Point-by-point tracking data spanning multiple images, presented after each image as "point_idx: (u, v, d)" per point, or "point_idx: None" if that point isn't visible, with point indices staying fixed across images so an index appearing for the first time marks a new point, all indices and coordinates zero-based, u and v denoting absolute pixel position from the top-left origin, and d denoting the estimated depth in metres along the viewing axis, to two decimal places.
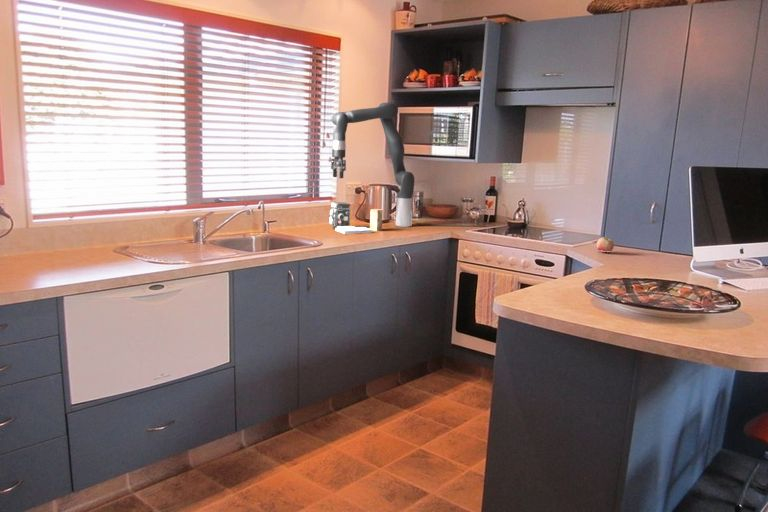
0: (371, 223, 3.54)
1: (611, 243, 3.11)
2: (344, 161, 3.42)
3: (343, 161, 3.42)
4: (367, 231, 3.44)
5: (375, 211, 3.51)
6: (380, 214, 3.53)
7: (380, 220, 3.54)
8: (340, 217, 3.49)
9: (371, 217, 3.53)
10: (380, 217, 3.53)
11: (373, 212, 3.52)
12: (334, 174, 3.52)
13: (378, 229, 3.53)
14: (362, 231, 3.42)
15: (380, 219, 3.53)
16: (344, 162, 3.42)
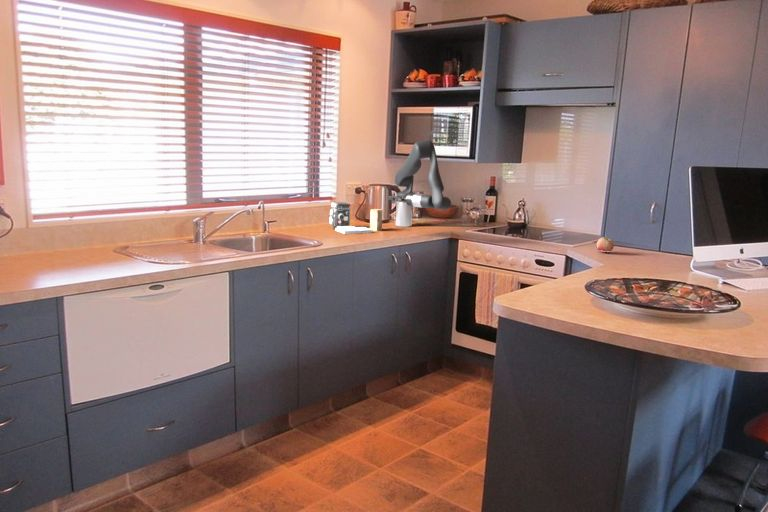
0: (371, 223, 3.54)
1: (611, 243, 3.11)
2: None
3: None
4: (367, 231, 3.44)
5: (375, 211, 3.51)
6: (380, 214, 3.53)
7: (380, 220, 3.54)
8: (340, 217, 3.49)
9: (371, 217, 3.53)
10: (380, 217, 3.53)
11: (373, 212, 3.52)
12: None
13: (378, 229, 3.53)
14: (362, 231, 3.42)
15: (380, 219, 3.53)
16: None
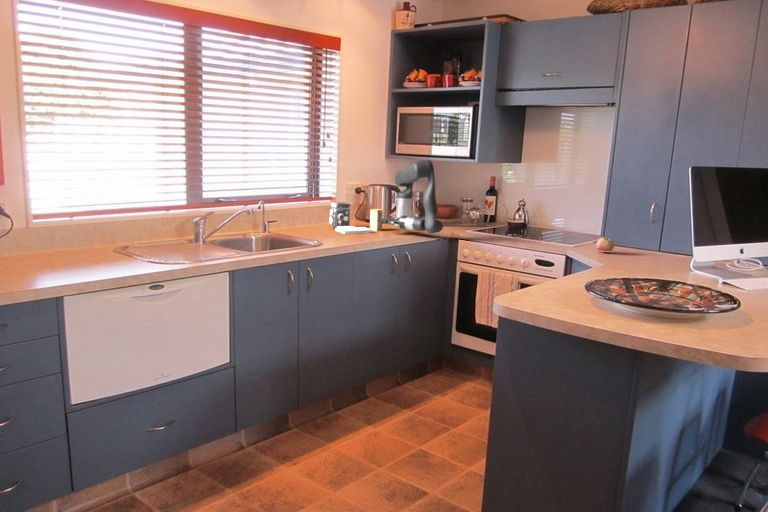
0: (371, 223, 3.54)
1: (611, 243, 3.11)
2: None
3: None
4: (367, 231, 3.44)
5: (375, 211, 3.51)
6: (380, 214, 3.53)
7: (380, 220, 3.54)
8: (340, 217, 3.49)
9: (371, 217, 3.53)
10: (380, 217, 3.53)
11: (373, 212, 3.52)
12: None
13: (378, 229, 3.53)
14: (362, 231, 3.42)
15: (380, 219, 3.53)
16: None
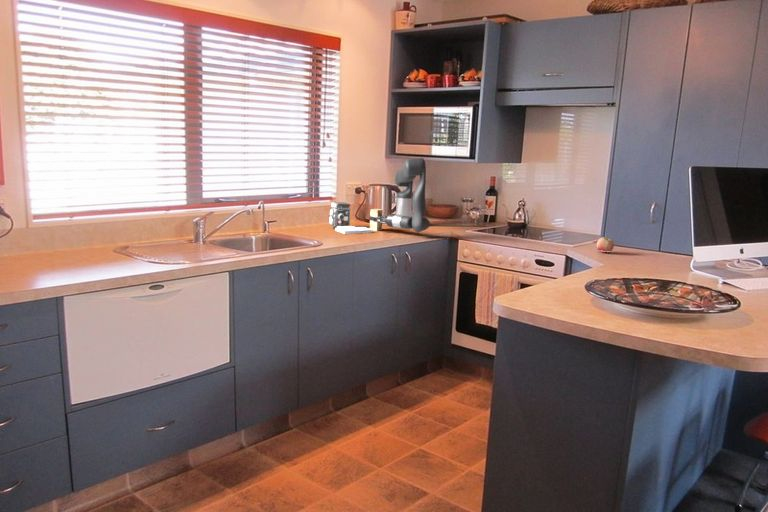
0: (371, 223, 3.54)
1: (611, 243, 3.11)
2: None
3: None
4: (367, 231, 3.44)
5: (375, 211, 3.51)
6: (380, 214, 3.53)
7: None
8: (340, 217, 3.49)
9: None
10: (380, 217, 3.53)
11: (373, 212, 3.52)
12: None
13: (378, 229, 3.53)
14: (362, 231, 3.42)
15: None
16: None
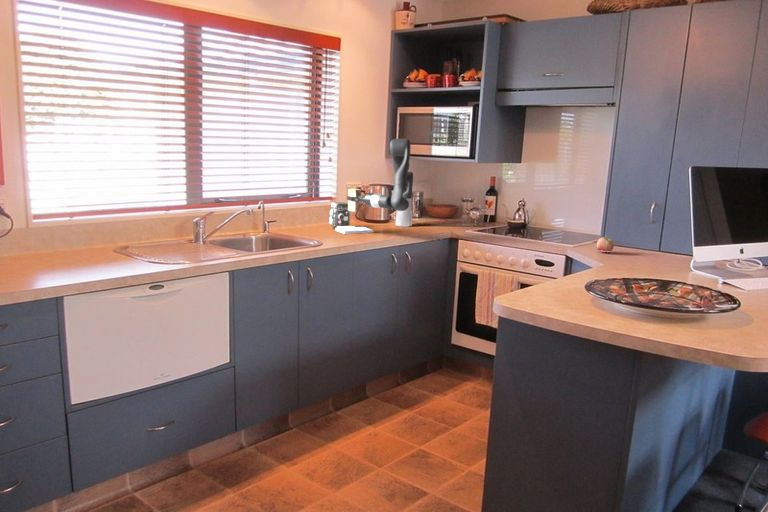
0: (349, 203, 3.42)
1: (611, 243, 3.11)
2: None
3: None
4: (367, 231, 3.44)
5: (354, 191, 3.39)
6: (359, 194, 3.41)
7: None
8: (340, 217, 3.49)
9: None
10: (358, 197, 3.41)
11: (351, 192, 3.40)
12: None
13: (356, 209, 3.41)
14: (362, 231, 3.42)
15: None
16: None
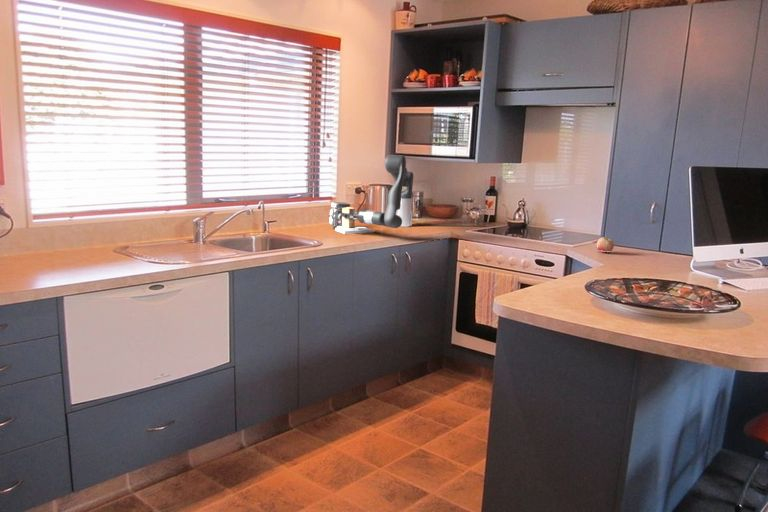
0: (343, 222, 3.42)
1: (611, 243, 3.11)
2: None
3: None
4: (367, 231, 3.44)
5: (347, 210, 3.39)
6: None
7: (352, 219, 3.42)
8: (340, 217, 3.49)
9: None
10: None
11: (345, 211, 3.40)
12: None
13: (350, 228, 3.42)
14: (362, 231, 3.42)
15: None
16: None
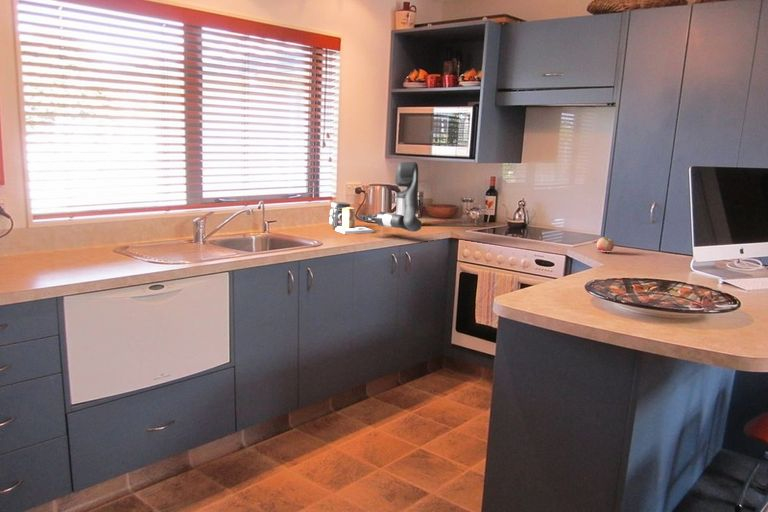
0: (343, 222, 3.42)
1: (611, 243, 3.11)
2: None
3: None
4: (367, 231, 3.44)
5: (347, 210, 3.39)
6: (353, 213, 3.42)
7: (352, 219, 3.42)
8: (340, 217, 3.49)
9: (343, 216, 3.42)
10: (352, 216, 3.42)
11: (345, 211, 3.40)
12: None
13: (350, 228, 3.42)
14: (362, 231, 3.42)
15: (352, 218, 3.42)
16: None
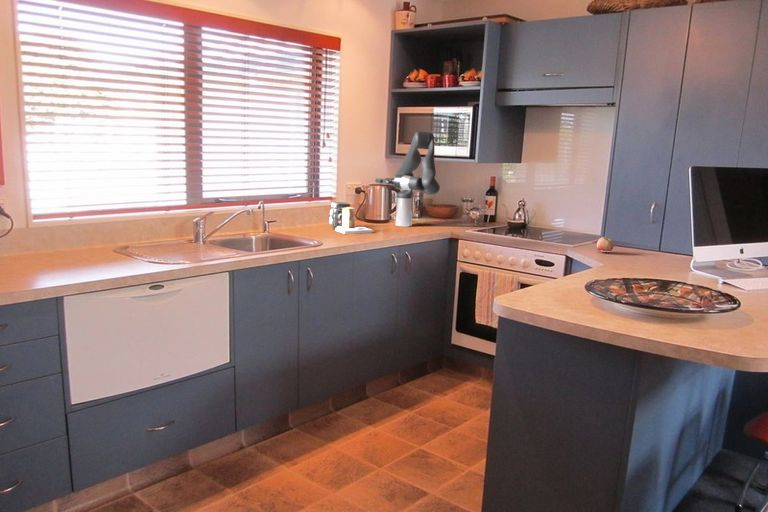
0: (343, 222, 3.42)
1: (611, 243, 3.11)
2: None
3: None
4: (367, 231, 3.44)
5: (347, 210, 3.39)
6: (353, 213, 3.42)
7: (352, 219, 3.42)
8: (340, 217, 3.49)
9: (343, 216, 3.42)
10: (352, 216, 3.42)
11: (345, 211, 3.40)
12: None
13: (350, 228, 3.42)
14: (362, 231, 3.42)
15: (352, 218, 3.42)
16: None
